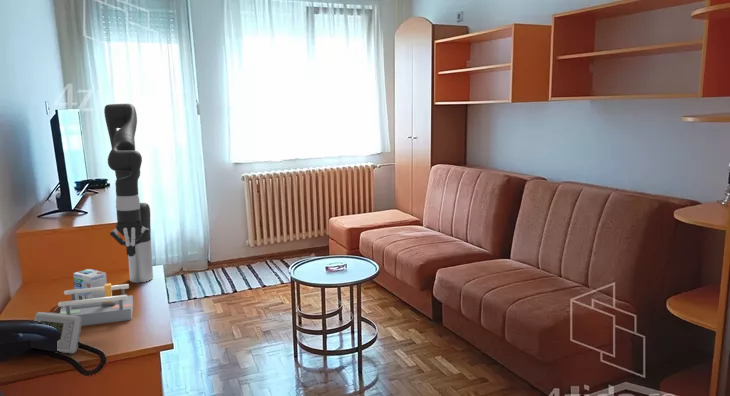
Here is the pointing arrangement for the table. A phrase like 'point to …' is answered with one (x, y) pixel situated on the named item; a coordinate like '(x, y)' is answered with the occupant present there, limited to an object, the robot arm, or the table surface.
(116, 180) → the robot arm
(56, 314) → the digital clock
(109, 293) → the breaker toggle
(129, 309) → the breaker panel
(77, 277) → the light bulb box
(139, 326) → the table surface
